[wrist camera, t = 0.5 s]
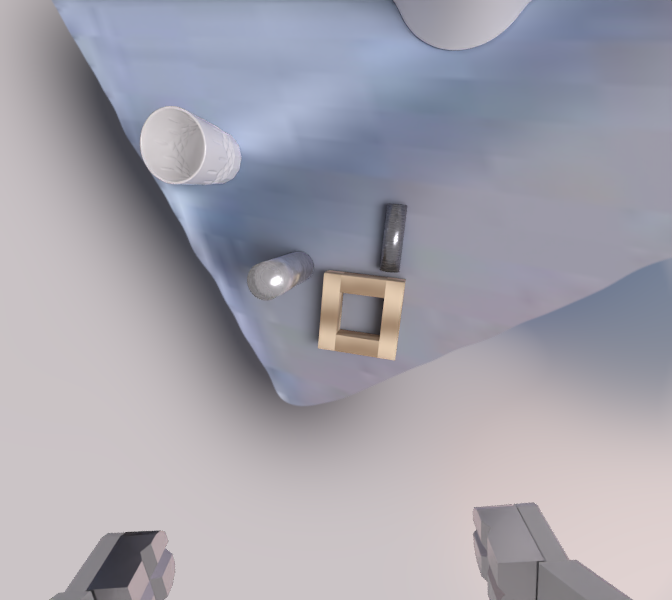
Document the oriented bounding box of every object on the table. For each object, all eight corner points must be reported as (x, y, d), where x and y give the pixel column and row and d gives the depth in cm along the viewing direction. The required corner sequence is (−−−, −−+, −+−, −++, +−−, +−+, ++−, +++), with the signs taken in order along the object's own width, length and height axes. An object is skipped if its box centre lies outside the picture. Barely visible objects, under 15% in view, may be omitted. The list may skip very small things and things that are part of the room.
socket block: (328, 270, 53) (324, 272, 50) (405, 279, 51) (404, 282, 48) (322, 342, 55) (318, 348, 52) (396, 353, 53) (394, 360, 51)
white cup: (192, 188, 54) (142, 183, 45) (189, 125, 52) (136, 106, 43) (246, 189, 53) (207, 184, 43) (245, 125, 51) (204, 105, 41)
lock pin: (388, 204, 49) (385, 203, 47) (408, 205, 49) (406, 205, 47) (381, 268, 51) (378, 270, 49) (400, 270, 51) (397, 273, 48)
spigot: (286, 249, 53) (247, 260, 42) (315, 253, 52) (284, 264, 41) (284, 279, 54) (246, 297, 43) (312, 283, 53) (282, 302, 42)
